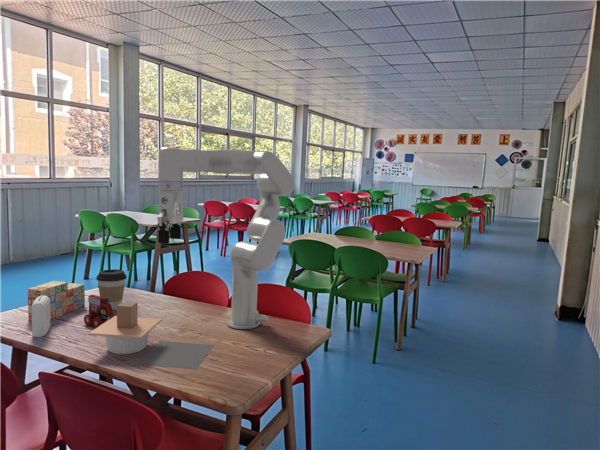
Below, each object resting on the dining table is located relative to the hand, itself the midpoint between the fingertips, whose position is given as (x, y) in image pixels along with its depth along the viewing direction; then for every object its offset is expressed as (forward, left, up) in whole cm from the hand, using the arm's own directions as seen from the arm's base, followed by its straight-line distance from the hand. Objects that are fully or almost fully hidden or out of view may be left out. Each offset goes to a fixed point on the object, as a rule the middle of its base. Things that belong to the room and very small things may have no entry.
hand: (169, 240), depth 137 cm
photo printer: (+45, -1, -34) cm, 56 cm away
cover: (+11, +6, -28) cm, 30 cm away
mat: (-6, +8, -34) cm, 36 cm away
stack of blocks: (+52, -21, -35) cm, 66 cm away
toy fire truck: (+30, -12, -35) cm, 47 cm away
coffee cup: (+36, -31, -34) cm, 59 cm away
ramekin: (+11, +6, -35) cm, 37 cm away
